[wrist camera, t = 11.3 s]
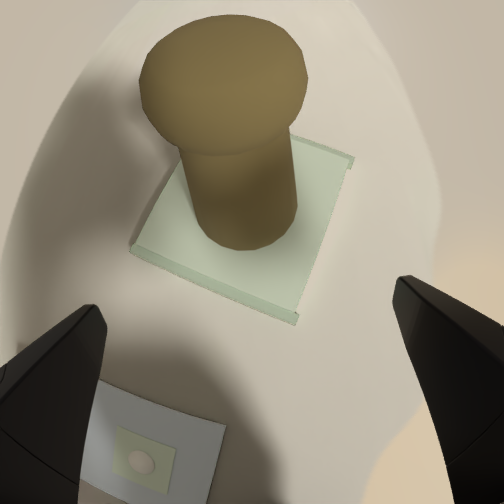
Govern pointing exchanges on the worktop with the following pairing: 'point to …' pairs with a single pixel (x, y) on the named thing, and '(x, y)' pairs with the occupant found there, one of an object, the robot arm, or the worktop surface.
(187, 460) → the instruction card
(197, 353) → the worktop surface
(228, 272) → the baseplate
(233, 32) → the cork
